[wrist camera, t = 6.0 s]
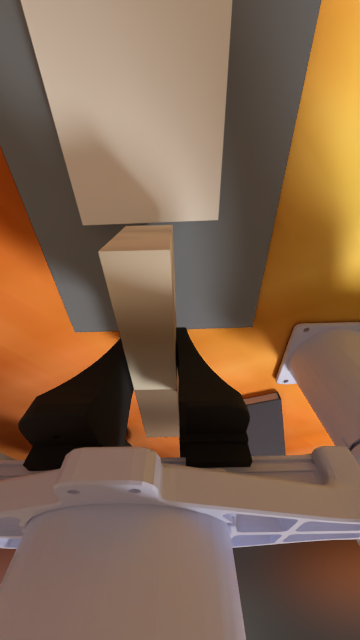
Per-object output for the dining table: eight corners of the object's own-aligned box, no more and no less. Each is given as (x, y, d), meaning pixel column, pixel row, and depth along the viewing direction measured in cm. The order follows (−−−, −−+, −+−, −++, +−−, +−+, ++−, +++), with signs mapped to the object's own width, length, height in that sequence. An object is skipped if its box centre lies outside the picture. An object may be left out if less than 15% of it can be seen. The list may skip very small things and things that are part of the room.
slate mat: (321, -29, 8) (330, -44, 8) (250, 323, 18) (252, 327, 18) (-54, -13, 8) (-69, -26, 8) (77, 328, 18) (75, 332, 18)
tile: (218, 220, 12) (233, -25, 7) (82, 225, 12) (17, -13, 7) (214, 217, 13) (225, 8, 8) (92, 222, 13) (40, 17, 9)
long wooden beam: (178, 386, 19) (179, 436, 15) (152, 386, 19) (146, 437, 15) (172, 224, 10) (169, 249, 7) (125, 225, 10) (98, 251, 7)
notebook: (282, 460, 35) (275, 387, 24) (286, 470, 34) (281, 398, 23) (213, 470, 37) (177, 407, 26) (214, 480, 36) (177, 419, 25)
